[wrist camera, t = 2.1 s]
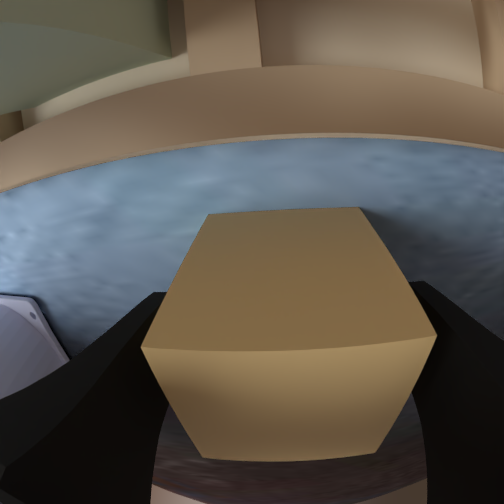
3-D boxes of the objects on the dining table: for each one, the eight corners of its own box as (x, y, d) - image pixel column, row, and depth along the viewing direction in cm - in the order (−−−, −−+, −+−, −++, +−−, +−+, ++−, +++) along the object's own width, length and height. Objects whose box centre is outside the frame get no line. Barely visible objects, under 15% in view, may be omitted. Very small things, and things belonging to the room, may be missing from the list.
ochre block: (347, 321, 12) (375, 452, 6) (228, 326, 12) (202, 457, 7) (358, 206, 9) (436, 335, 4) (208, 214, 10) (141, 346, 5)
